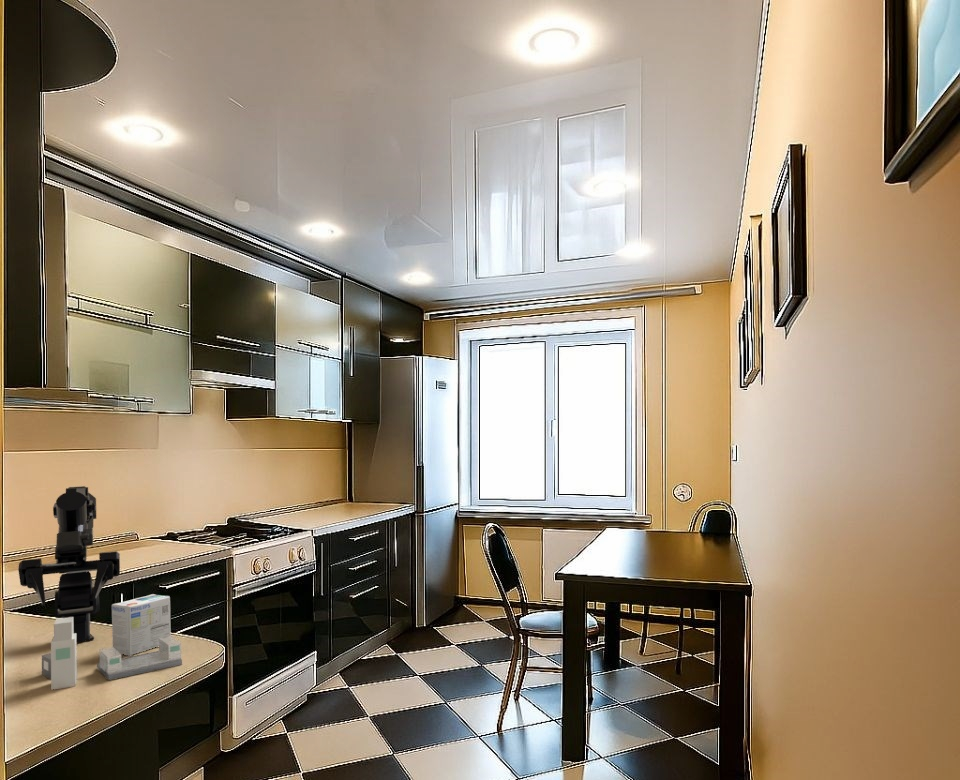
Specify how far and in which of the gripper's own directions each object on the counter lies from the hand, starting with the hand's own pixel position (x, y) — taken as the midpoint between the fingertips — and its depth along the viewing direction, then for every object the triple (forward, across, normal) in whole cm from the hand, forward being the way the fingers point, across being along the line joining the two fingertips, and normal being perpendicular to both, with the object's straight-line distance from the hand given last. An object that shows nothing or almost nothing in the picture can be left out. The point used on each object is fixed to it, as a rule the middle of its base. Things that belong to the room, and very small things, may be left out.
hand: (69, 600), depth 153 cm
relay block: (+10, -2, +10) cm, 15 cm away
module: (+16, 0, +5) cm, 17 cm away
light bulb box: (+2, +14, +18) cm, 23 cm away
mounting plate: (+13, +13, +8) cm, 20 cm away
